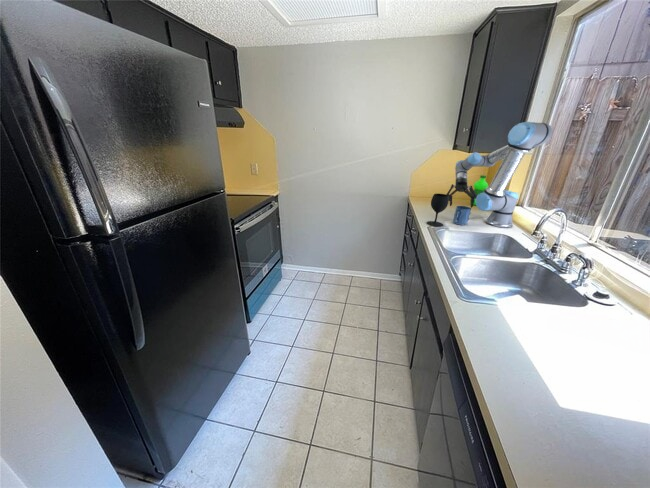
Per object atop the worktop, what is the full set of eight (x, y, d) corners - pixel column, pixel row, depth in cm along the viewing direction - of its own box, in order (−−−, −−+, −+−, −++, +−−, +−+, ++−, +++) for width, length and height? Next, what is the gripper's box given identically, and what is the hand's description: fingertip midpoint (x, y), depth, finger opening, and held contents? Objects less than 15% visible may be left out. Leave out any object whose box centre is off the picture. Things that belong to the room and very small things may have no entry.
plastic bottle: (466, 203, 229) (473, 174, 219) (477, 203, 230) (485, 174, 220) (473, 206, 220) (481, 176, 210) (484, 206, 221) (493, 176, 211)
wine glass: (444, 227, 169) (451, 197, 161) (428, 225, 170) (434, 196, 162) (441, 222, 178) (447, 193, 170) (425, 221, 180) (431, 192, 172)
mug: (456, 220, 184) (460, 205, 179) (469, 223, 177) (473, 208, 173) (447, 223, 177) (451, 207, 172) (460, 227, 170) (464, 211, 166)
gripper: (477, 184, 187) (478, 210, 180) (441, 182, 192) (440, 206, 184) (482, 178, 180) (483, 204, 173) (444, 175, 185) (443, 201, 178)
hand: (461, 205), depth 179 cm, fingers open, 13 cm apart
